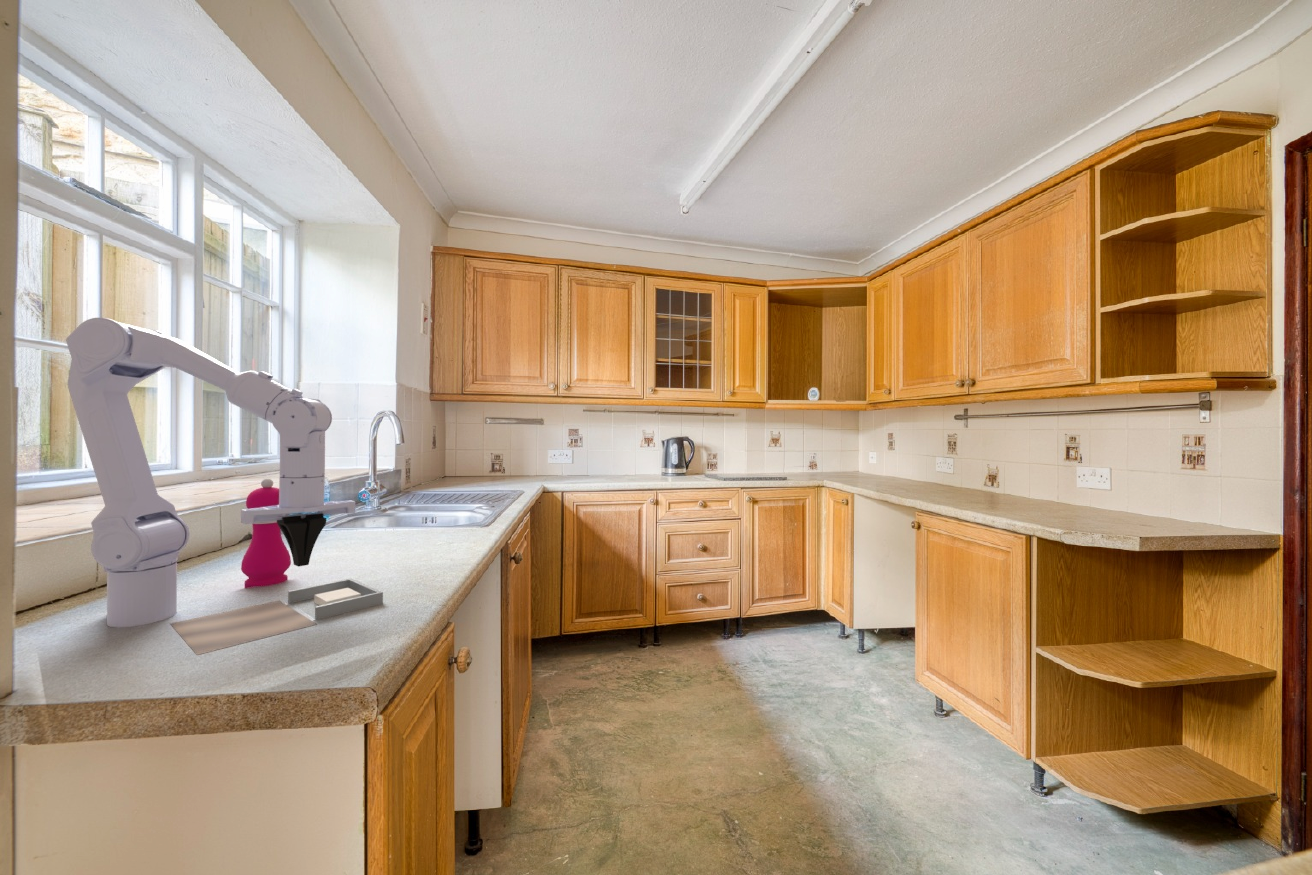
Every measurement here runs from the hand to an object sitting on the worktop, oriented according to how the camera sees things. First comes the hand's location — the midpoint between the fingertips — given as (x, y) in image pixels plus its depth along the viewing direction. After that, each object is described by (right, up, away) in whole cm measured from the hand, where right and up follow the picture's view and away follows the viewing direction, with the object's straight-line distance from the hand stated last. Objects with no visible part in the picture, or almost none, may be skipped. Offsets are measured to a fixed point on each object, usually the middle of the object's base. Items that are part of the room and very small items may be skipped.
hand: (301, 564), depth 78 cm
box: (+3, -8, +4) cm, 9 cm away
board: (-4, -8, -6) cm, 11 cm away
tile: (+3, -8, +4) cm, 10 cm away
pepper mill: (-17, -8, +15) cm, 24 cm away
